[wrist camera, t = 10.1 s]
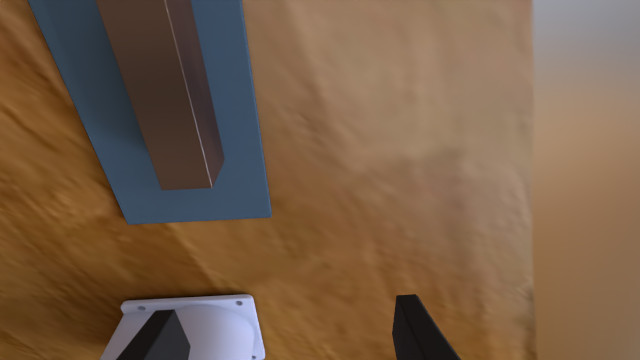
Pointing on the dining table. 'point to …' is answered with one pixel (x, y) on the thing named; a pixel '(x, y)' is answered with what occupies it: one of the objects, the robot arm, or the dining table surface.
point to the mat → (122, 126)
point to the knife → (167, 88)
